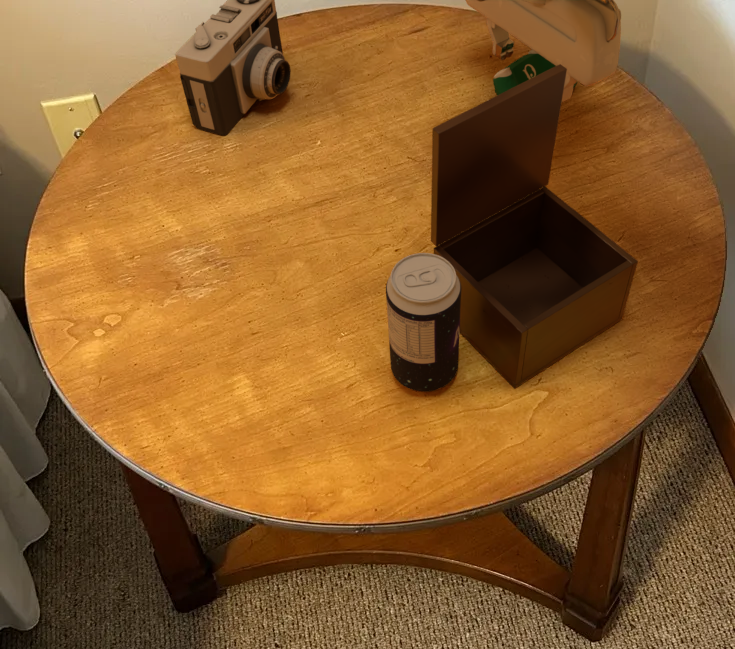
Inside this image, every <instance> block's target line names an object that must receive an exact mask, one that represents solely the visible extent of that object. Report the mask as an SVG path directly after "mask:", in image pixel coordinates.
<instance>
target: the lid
mask: <svg viewBox="0 0 735 649" xmlns="http://www.w3.org/2000/svg"><path fill="white" fill-rule="evenodd" d="M566 72H567V69H566V68H565V67H564V66H562V65H561V64H559V65H557V66H555V67H553V68H551V69H549V70H547V71H545V72H543V73H541V74H539V75H537V76H535V77H533V78H531V79H529V80H527V81H525V82H523V83H521V84H519V85H517V86H515V87H513V88H511V89H509V90H507V91H505V92H503V93H501V94H499V95H497V94H496V95H495V96H494V97H492V98H489V99H488V100H485V101H483V102H482V103H479V104H478V105H476V106H474V107H472V108H469V109H467V110H466V111H463V112H462V113H459V114H458V115H456V116H454V117H452V118H449V119H448V120H446V121H443V122H442V123H439V124H438V125H435V126H434V127H433V128H432V129H431V130H432V134H431V135H432V136H431V140H432V141H431V193H430V194H431V195H430V196H431V198H430V199H431V202H430V203H431V204H430V243H431V244H433V245H434V247H436V246H438V245H440V244H442V243H444V242H445V241H447V240H449V239H451V238H453V237H454V236H456V235H458V234H460V233H462V232H463V231H465V230H467V229H469V228H471V227H472V226H474V225H476V224H478V223H480V222H481V221H483V220H485V219H487V218H489V217H490V216H492V215H494V214H496V213H498V212H499V211H501V210H503V209H505V208H507V207H508V206H510V205H512V204H514V203H515V202H517V201H519V200H521V199H523V198H524V197H526V196H528V195H530V194H532V193H533V192H535V191H537V190H539V189H541V188H543V187H544V186H545V187H547V185H549V181H550V175H551V170H552V164H553V157H554V153H555V152H554V151H555V146H556V139H557V132H558V127H559V121H560V114H561V108H562V103H563V102H562V96H563V90H564V84H565V78H566ZM561 102H562V103H561Z"/></svg>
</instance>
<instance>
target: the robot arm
mask: <svg viewBox="0 0 735 649" xmlns="http://www.w3.org/2000/svg"><path fill="white" fill-rule="evenodd" d="M465 3H466V4H467V5H468V6H469V7H470V8H471V9H473V10H475V11H476V12H477V13H479V14H480V15H482V16H483V17H485V18H486V27H487V29H488V33H489V36H490V38H491V41H492V55H494V56H495V57H497V58H498V59H499V60H501V61H505V60H506V59H509V58H510V57H512V56H513V54H514V49H513V48H514V47H515V41H514V40H512V38H510V36H512V37H514V38H515V39H516V40H518V41H519V42H521V43H522V44H523V45H525V46H526V47H528V48H529V49H530V50H534V51H535V52H537V53H538V54H539V55H541V56H542V57H544V58H545V59H547V60H548V61H550V62H551V63H552V64H554V65H555V66H557V65H559V64H561V65H562V66H564V67H565V68H566V69H567V72H566V78H565V84H564V90H563V96H562V102H561V104H562V103H564V102H565V101H568V100H569V99H571V98H572V95H573V91H574V89H573V86H574V84H575V83H576V82H577V83H579V84H581V85H583V86H584V87H590V86H593V85H595V84H599V83H600V82H601V81H604V80H606V79H607V78H609V77H610V76H612V75H613V74H614V73H615V72H616V71H617V69H618V66H619V65H618V64H619V59H620V52H621V37H622V36H621V35H622V11H621V9H620V8H619V6H618V5H617V4H618V3H616V1H615V0H465Z"/></svg>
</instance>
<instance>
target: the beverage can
mask: <svg viewBox="0 0 735 649" xmlns="http://www.w3.org/2000/svg"><path fill="white" fill-rule="evenodd" d="M385 297H386V300H385V301H386V314H387V330H388V344H389V358H390V359H389V360H390V371H391V373H392V376H393V377H394V379H395V380H396V381H397V382H398V383H399V384H400V385H402V386H403V387H405V388H407V389H408V390H411V391H414V392H421V393H428V392H434V391H438V390H441V389H442V388H444V387H446V386H448V385H449V384H450V383H451V382H452V381H453V380H454V378H455V377H456V376H457V372H458V370H459V357H460V356H459V353H460V334H461V333H460V307H461V283H460V280H459V278H458V276H457V275H456V272H455V269H454V268H453V266H452V265H451V264H450V262H448V261H447V260H446V259H444V258H443V257H441V256H438V255H435V254H434V253H430V252H417V253H412V254H409V255H406V256H404V257H403V258H401V259H400V260H398V261H397V262H396V263H395V265H394V266H393V268H392V270H391V272H390V275H389V277H388V279H387V281H386V284H385Z"/></svg>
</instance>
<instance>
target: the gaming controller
mask: <svg viewBox="0 0 735 649" xmlns="http://www.w3.org/2000/svg"><path fill="white" fill-rule="evenodd" d="M553 67H555V65H554V64H552V63H551V62H550V61H548V60H547V59H545V58H544V57H542V56H541V55H539V54H538V53H537V52H535V51H534V50H532V49H530V50H529V51H528V52H527V54H524V55H522V56H521V57H519V58H517V59H516V60H514V61H512V62H511V63H510V64H509V65H507V66H505V67H504V68H502V69H500V70H499V71H497V72H496V73H495V74H494V75H493V78H492V83H493V88H494V93H495V94H496V96H497V95H499V94H501V93H503V92H505V91H507V90H509V89H511V88H513V87H515V86H517V85H519V84H521V83H523V82H525V81H527V80H529V79H531V78H533V77H535V76H537V75H539V74H541V73H543V72H545V71H547V70H549V69H551V68H553ZM577 85H578V81H577V82H576V83H575V84H574V86H573V90H574V89H575V88H576V87H577Z"/></svg>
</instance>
